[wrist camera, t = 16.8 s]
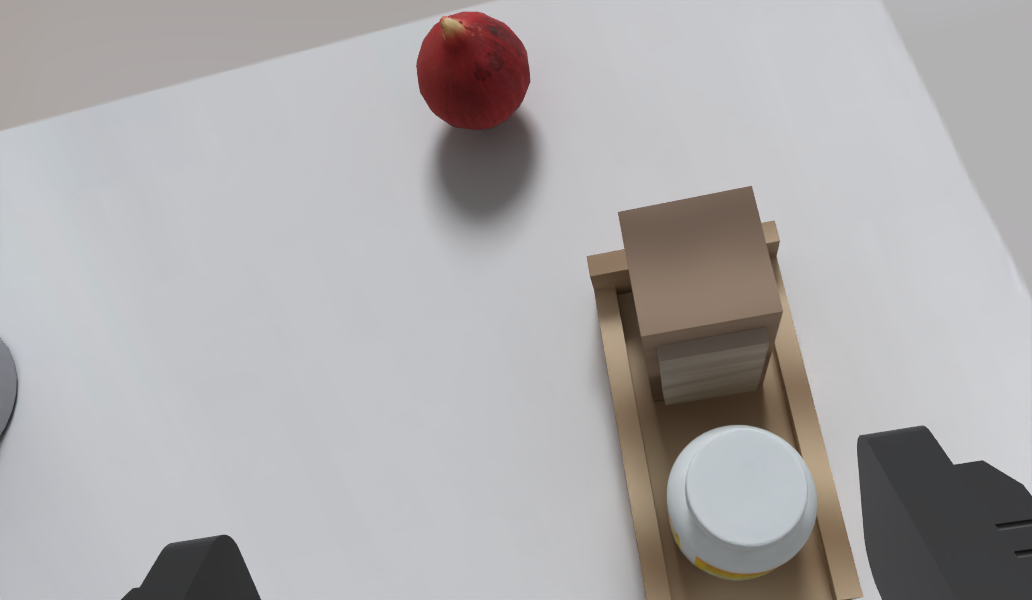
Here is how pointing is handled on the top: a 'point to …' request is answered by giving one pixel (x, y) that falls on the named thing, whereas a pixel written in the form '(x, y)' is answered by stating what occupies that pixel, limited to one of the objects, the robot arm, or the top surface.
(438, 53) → the onion
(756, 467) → the supplement bottle
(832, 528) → the wooden box stand
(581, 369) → the top surface
